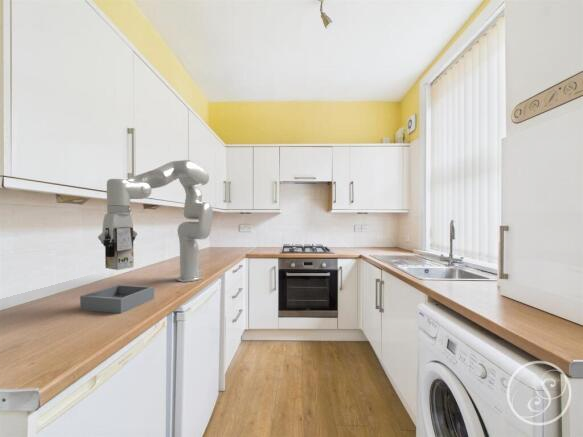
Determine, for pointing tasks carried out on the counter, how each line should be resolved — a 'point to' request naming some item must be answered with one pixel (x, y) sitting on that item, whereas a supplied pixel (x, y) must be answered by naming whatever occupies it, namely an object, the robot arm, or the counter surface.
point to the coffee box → (121, 250)
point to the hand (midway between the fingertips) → (119, 254)
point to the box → (116, 298)
